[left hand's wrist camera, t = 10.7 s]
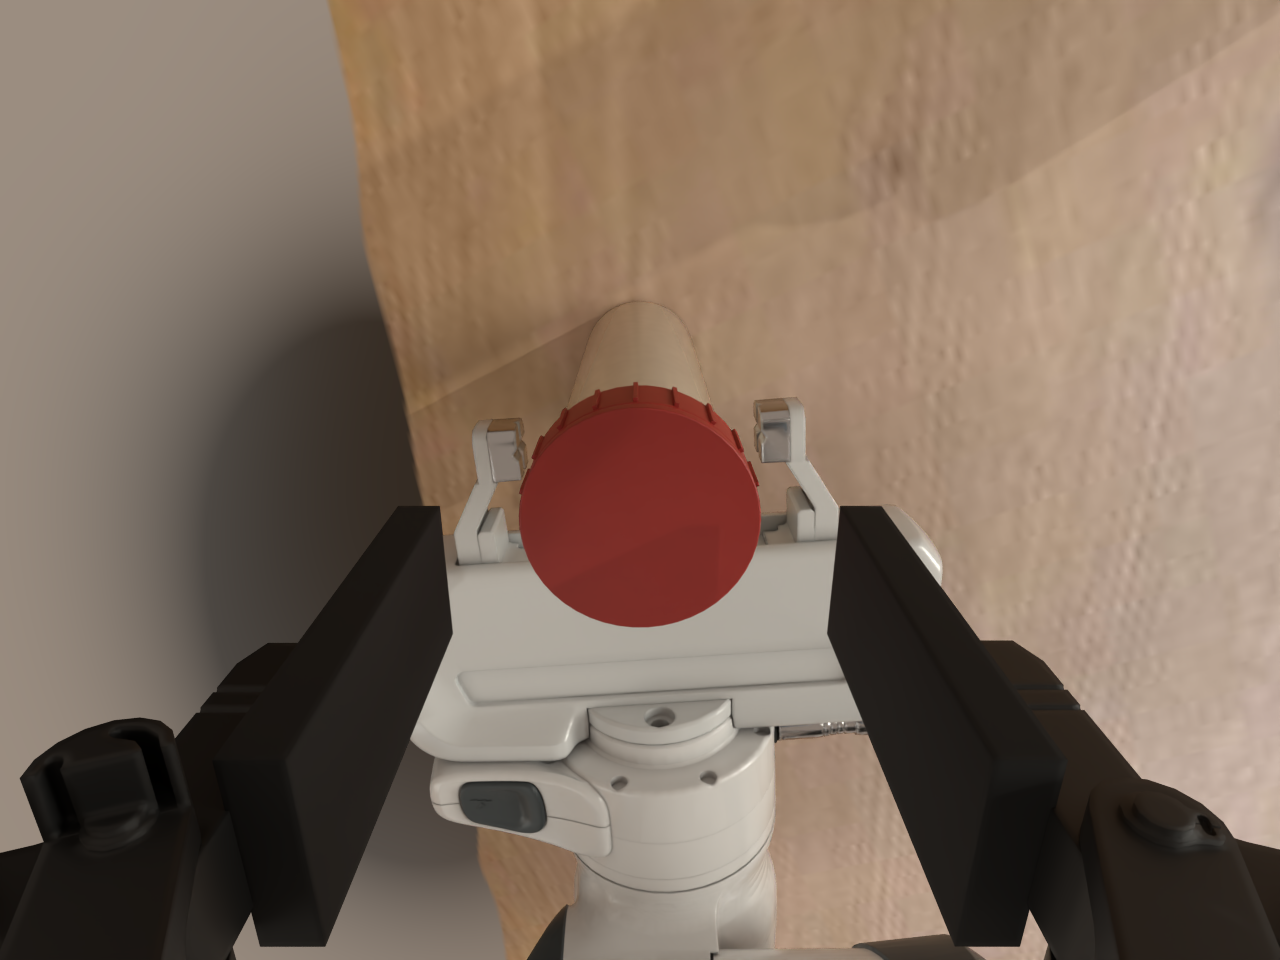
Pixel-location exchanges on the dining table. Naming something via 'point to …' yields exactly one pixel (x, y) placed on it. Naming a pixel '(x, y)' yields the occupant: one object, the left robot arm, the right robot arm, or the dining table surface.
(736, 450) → the lid
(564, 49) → the dining table surface
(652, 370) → the jar
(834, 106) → the dining table surface
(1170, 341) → the dining table surface
